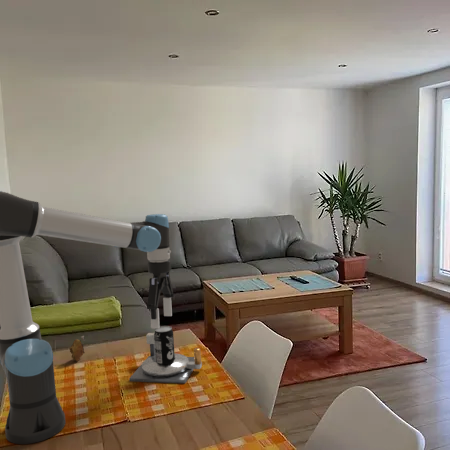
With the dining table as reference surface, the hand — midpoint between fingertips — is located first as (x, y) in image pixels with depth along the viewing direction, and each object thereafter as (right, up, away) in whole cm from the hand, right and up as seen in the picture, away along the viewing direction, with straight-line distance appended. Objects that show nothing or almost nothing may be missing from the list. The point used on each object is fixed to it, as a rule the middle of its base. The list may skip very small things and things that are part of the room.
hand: (161, 321), depth 161 cm
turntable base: (+1, -17, +2) cm, 17 cm away
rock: (-33, -17, +16) cm, 41 cm away
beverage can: (+1, -15, +2) cm, 15 cm away
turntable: (+3, -16, +2) cm, 16 cm away
